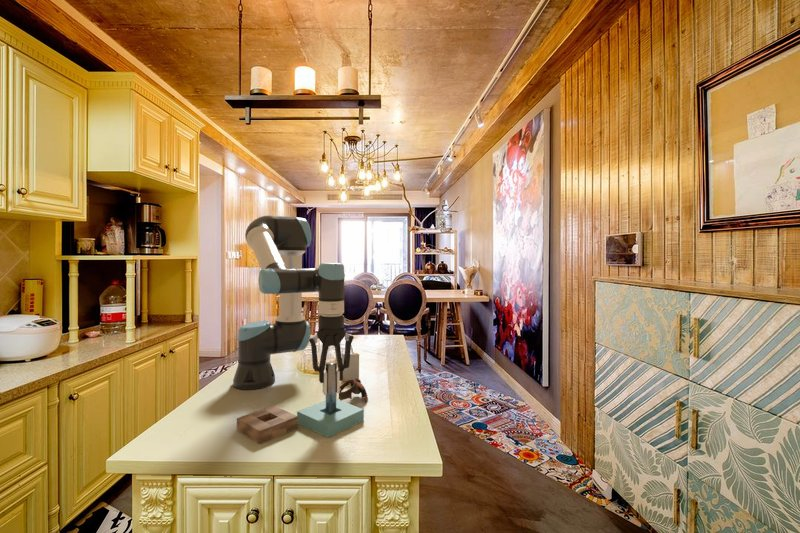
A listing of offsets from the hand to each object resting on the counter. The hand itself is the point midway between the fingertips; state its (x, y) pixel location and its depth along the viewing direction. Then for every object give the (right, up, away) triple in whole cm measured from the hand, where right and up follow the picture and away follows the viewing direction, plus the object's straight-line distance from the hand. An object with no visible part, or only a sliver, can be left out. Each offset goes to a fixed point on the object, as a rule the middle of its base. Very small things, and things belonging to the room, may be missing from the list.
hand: (331, 392), depth 115 cm
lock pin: (0, -5, 0) cm, 5 cm away
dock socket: (0, -9, 0) cm, 9 cm away
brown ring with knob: (+5, -9, +18) cm, 21 cm away
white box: (+1, -8, +40) cm, 40 cm away
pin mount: (-17, -9, -5) cm, 20 cm away
